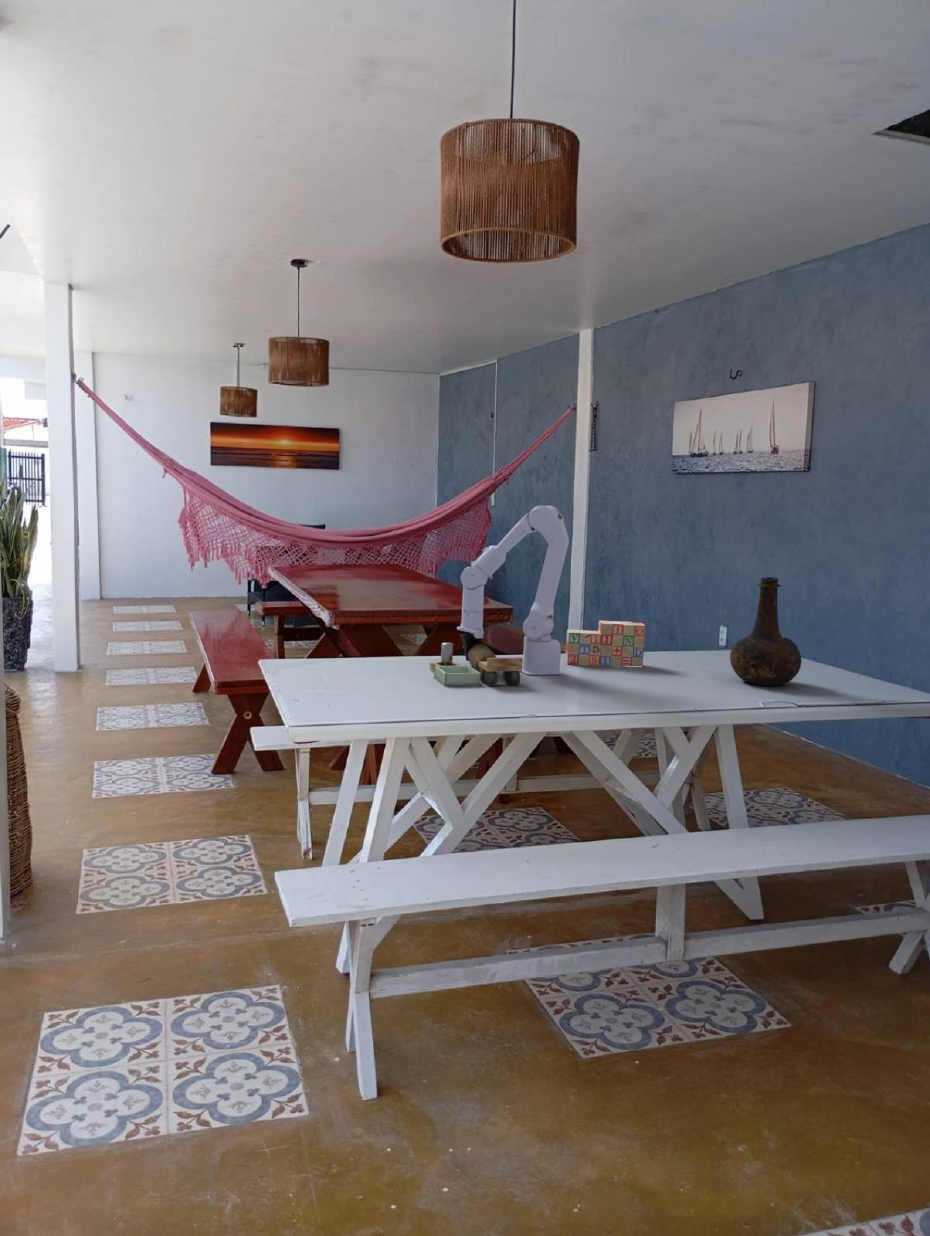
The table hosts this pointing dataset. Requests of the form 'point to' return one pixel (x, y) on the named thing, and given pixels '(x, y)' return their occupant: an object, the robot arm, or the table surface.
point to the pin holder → (440, 665)
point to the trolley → (506, 665)
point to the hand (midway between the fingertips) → (470, 660)
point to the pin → (446, 654)
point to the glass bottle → (766, 645)
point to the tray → (457, 675)
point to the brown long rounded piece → (479, 655)
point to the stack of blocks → (607, 645)
